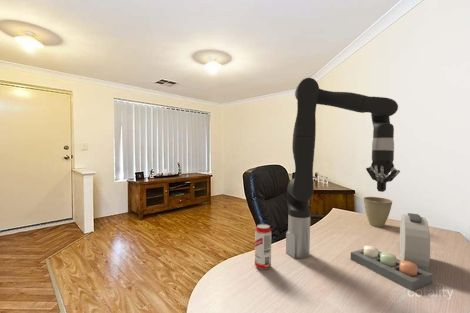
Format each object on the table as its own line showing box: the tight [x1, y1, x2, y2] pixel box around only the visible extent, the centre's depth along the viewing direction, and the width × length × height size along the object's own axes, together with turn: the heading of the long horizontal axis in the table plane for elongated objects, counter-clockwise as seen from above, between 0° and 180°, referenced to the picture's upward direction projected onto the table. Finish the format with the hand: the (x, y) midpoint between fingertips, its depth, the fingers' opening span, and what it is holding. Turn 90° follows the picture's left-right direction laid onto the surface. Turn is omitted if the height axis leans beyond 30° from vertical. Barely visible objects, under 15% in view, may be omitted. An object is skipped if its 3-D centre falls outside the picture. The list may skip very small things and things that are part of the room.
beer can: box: [254, 223, 272, 271], centre depth 88 cm, size 6×6×16 cm
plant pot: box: [363, 196, 393, 228], centre depth 139 cm, size 15×15×16 cm
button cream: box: [363, 245, 379, 259], centre depth 93 cm, size 5×5×4 cm
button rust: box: [399, 259, 417, 278], centre depth 81 cm, size 5×5×4 cm
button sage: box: [380, 251, 397, 267], centre depth 87 cm, size 5×5×4 cm
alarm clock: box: [399, 212, 431, 272], centre depth 93 cm, size 21×8×20 cm, turn 148°
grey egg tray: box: [350, 248, 434, 292], centre depth 87 cm, size 12×23×3 cm, turn 24°
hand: (381, 191), depth 93 cm, fingers closed
